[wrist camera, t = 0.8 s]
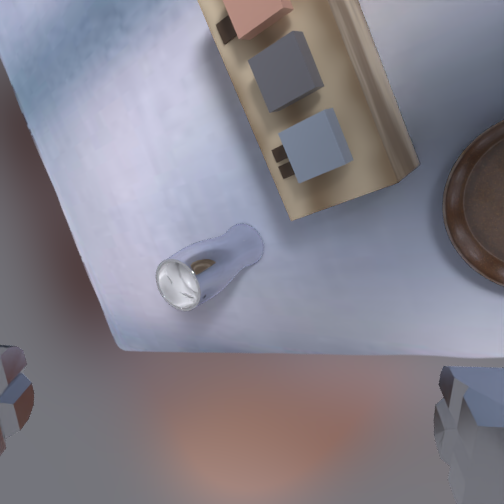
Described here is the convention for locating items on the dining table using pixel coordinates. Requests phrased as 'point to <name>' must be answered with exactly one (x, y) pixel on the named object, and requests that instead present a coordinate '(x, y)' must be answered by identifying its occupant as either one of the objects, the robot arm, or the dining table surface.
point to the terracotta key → (255, 15)
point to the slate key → (316, 145)
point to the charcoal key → (286, 71)
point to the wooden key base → (323, 102)
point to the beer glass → (207, 266)
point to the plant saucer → (478, 204)
